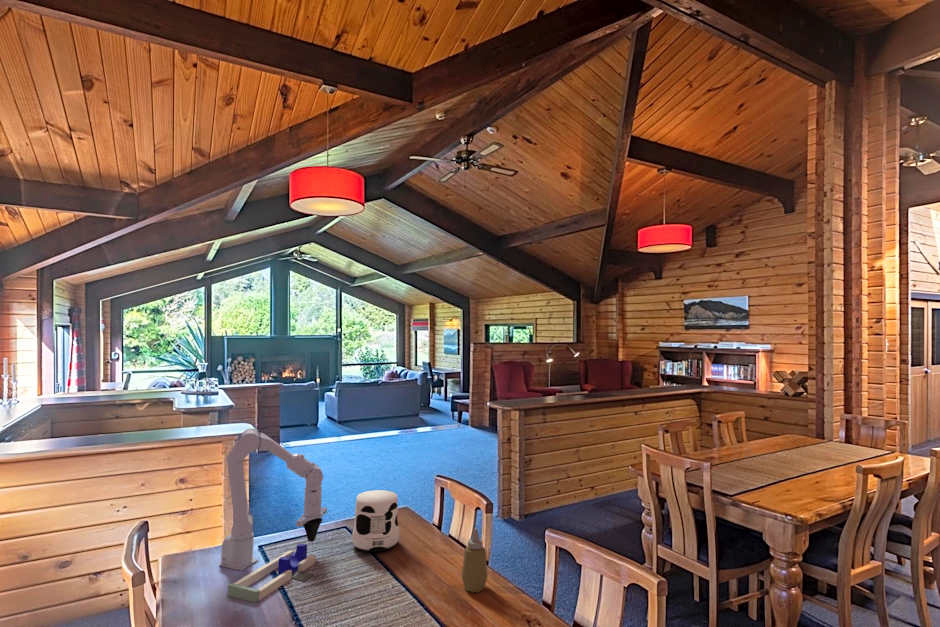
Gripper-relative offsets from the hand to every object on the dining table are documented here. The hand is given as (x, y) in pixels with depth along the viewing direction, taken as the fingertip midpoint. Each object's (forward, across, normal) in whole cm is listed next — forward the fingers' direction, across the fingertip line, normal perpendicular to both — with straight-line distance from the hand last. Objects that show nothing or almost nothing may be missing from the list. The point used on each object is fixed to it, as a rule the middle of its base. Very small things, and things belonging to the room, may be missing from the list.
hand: (311, 540), depth 172 cm
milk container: (+5, +15, -17) cm, 23 cm away
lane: (+5, -18, 0) cm, 18 cm away
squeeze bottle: (+5, -1, -61) cm, 61 cm away
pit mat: (+5, -14, -8) cm, 17 cm away
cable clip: (+5, -11, -1) cm, 13 cm away
